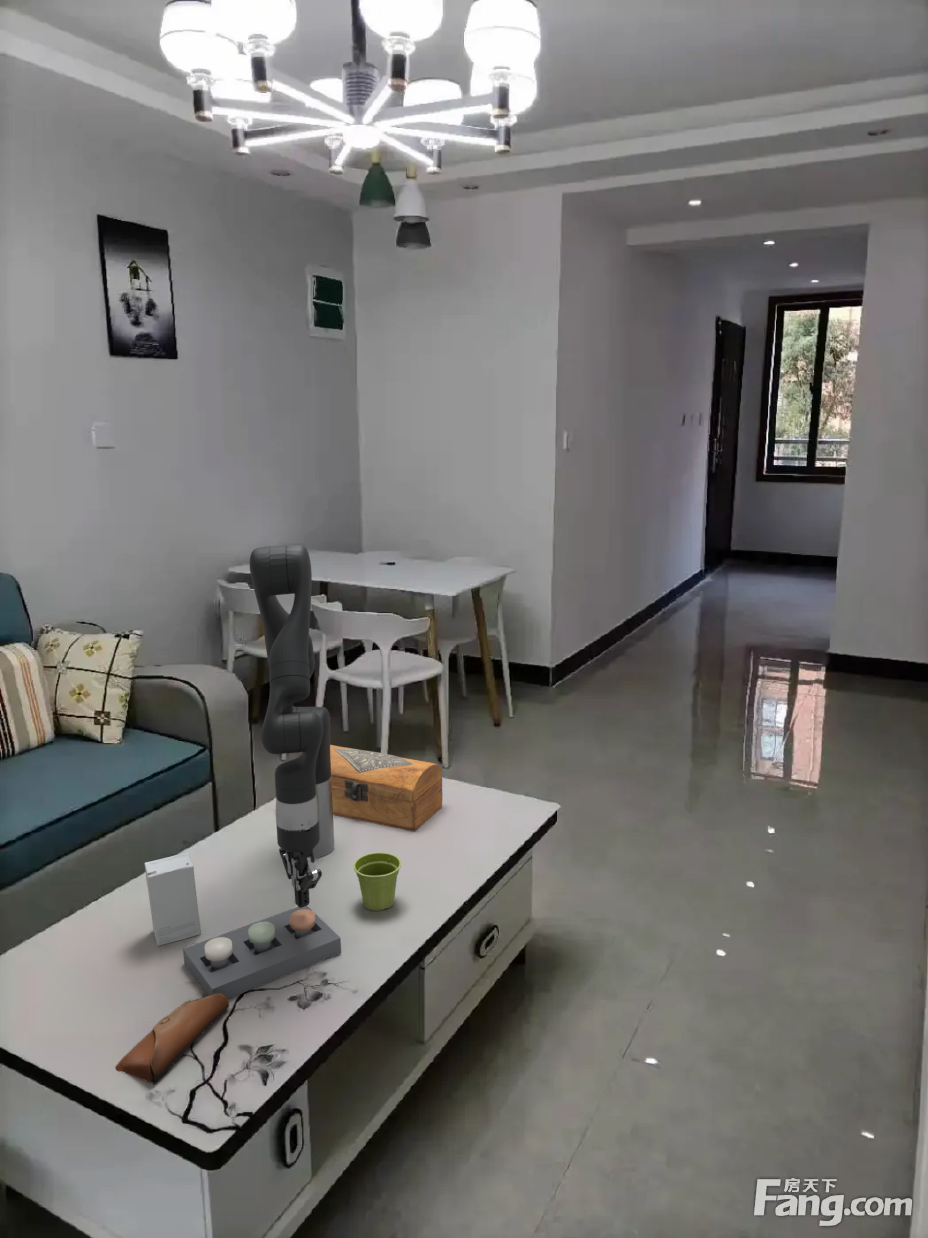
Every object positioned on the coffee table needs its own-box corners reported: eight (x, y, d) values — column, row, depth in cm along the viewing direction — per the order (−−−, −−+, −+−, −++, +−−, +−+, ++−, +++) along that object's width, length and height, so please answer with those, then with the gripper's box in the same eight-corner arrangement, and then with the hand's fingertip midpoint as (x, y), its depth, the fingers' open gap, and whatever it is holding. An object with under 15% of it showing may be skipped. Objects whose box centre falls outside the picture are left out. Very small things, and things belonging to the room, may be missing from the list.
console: (184, 963, 158) (182, 948, 157) (306, 918, 172) (305, 904, 171) (213, 1005, 147) (212, 989, 146) (341, 952, 161) (340, 938, 160)
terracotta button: (286, 936, 164) (285, 915, 163) (308, 927, 167) (307, 906, 166) (297, 948, 160) (296, 926, 159) (320, 939, 163) (319, 917, 162)
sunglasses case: (187, 997, 149) (201, 971, 146) (219, 1024, 147) (234, 999, 145) (110, 1071, 132) (124, 1043, 130) (145, 1102, 131) (160, 1075, 129)
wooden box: (304, 811, 217) (301, 759, 214) (341, 786, 232) (339, 736, 228) (411, 836, 204) (410, 780, 201) (443, 807, 219) (443, 755, 216)
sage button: (245, 949, 159) (244, 927, 158) (269, 940, 162) (268, 918, 161) (256, 961, 156) (254, 939, 155) (280, 952, 158) (278, 930, 157)
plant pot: (395, 918, 171) (393, 878, 169) (348, 913, 173) (346, 873, 171) (407, 893, 180) (406, 854, 178) (363, 888, 182) (361, 850, 180)
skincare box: (196, 920, 171) (190, 850, 168) (201, 936, 166) (195, 864, 162) (150, 931, 168) (143, 860, 164) (154, 948, 162) (147, 875, 159)
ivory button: (202, 965, 155) (200, 943, 154) (227, 956, 157) (225, 934, 156) (212, 979, 151) (210, 956, 150) (237, 969, 154) (236, 946, 153)
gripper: (262, 811, 161) (268, 896, 165) (295, 839, 151) (300, 929, 155) (299, 800, 165) (304, 883, 170) (334, 826, 155) (338, 914, 159)
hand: (302, 904), depth 162 cm, fingers closed
